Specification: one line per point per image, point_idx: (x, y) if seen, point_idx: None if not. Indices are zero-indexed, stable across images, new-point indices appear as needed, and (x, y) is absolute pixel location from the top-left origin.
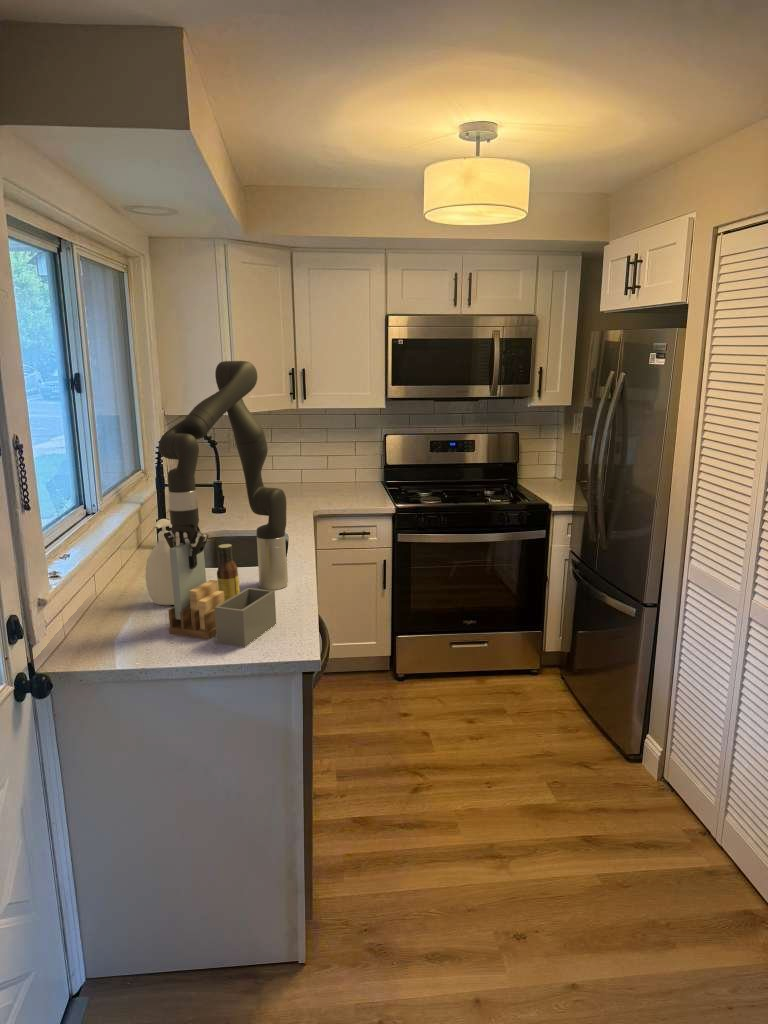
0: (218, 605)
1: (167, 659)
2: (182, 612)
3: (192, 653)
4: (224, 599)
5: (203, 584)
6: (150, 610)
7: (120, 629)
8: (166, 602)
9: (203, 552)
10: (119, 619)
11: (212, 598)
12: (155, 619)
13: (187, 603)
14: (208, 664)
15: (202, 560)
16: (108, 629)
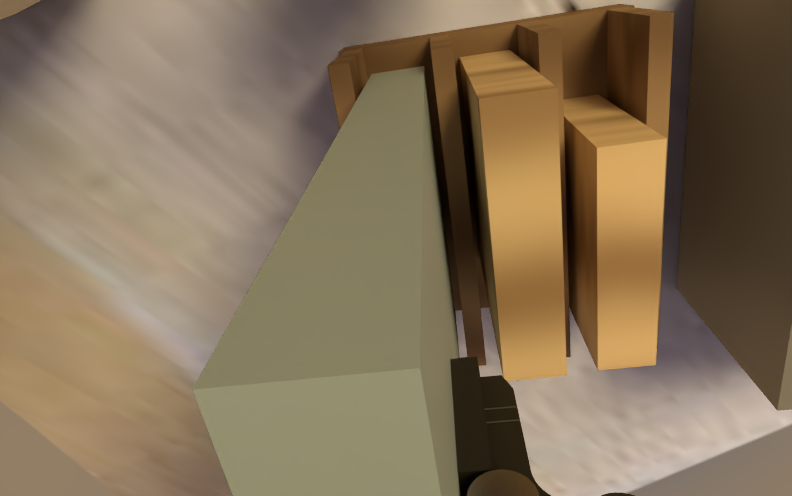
0: (789, 379)
1: (571, 462)
2: (485, 362)
3: (631, 397)
4: (641, 123)
5: (508, 231)
6: (20, 110)
7: (152, 347)
8: (13, 14)
9: (423, 218)
10: (26, 271)
11: (658, 287)
12: (170, 197)
13: (452, 304)
14: (755, 438)
15: (428, 210)
16: (109, 366)
